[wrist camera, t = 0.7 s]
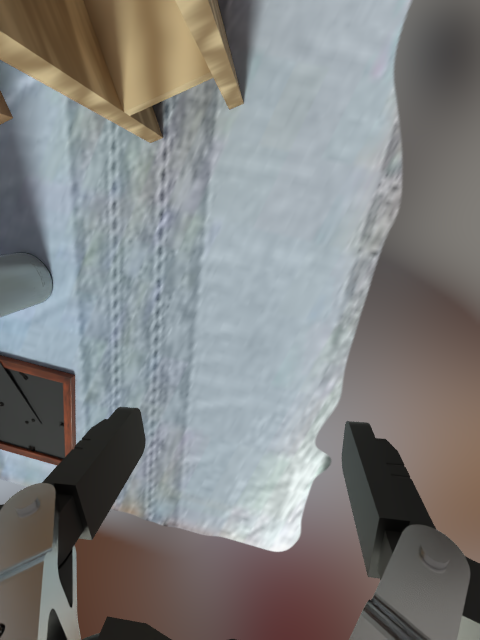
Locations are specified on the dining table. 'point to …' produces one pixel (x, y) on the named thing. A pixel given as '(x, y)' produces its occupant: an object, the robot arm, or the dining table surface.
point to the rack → (120, 53)
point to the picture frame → (36, 411)
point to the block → (4, 110)
